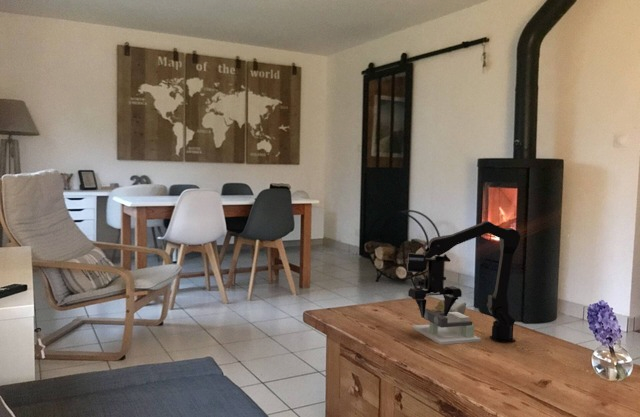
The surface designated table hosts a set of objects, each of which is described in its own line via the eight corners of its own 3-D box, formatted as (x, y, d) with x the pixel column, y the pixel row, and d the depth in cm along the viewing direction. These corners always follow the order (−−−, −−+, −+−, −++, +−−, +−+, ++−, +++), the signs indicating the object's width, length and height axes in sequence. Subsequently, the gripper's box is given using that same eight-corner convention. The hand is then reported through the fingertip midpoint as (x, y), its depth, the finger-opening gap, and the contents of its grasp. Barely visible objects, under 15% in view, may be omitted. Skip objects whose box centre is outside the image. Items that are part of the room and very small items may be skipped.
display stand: (449, 325, 208) (450, 307, 207) (480, 341, 189) (481, 321, 188) (412, 328, 203) (413, 309, 202) (440, 344, 184) (441, 324, 183)
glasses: (450, 314, 204) (450, 307, 204) (472, 325, 191) (472, 316, 190) (421, 316, 200) (421, 308, 200) (441, 327, 187) (441, 319, 186)
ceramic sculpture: (461, 301, 211) (425, 297, 219) (461, 323, 211) (425, 318, 220) (470, 296, 220) (435, 293, 228) (470, 317, 220) (435, 313, 228)
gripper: (446, 268, 203) (444, 309, 204) (401, 270, 197) (400, 312, 198) (463, 273, 193) (461, 317, 194) (416, 275, 187) (415, 320, 188)
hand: (434, 316), depth 194 cm, fingers open, 9 cm apart
